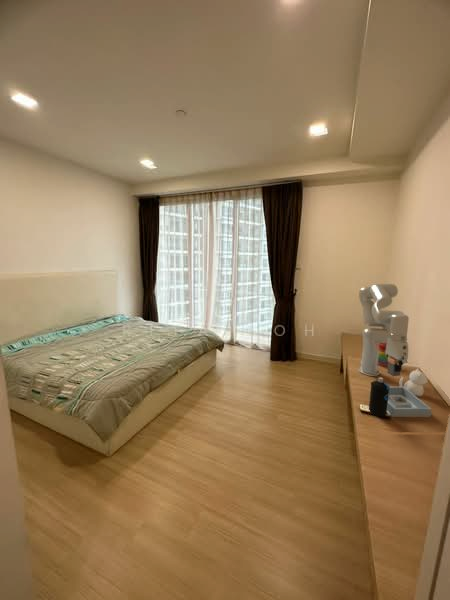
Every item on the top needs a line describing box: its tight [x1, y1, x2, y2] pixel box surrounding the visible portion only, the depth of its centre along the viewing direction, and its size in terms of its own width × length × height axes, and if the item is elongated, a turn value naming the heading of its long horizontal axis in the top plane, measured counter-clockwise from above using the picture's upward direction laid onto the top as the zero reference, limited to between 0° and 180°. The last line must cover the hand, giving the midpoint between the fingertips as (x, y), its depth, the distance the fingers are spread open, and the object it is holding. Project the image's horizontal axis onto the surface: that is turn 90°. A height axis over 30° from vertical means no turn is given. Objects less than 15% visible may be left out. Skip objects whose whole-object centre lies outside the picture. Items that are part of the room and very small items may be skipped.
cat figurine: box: [398, 368, 428, 397], centre depth 137 cm, size 9×12×15 cm
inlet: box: [388, 395, 412, 408], centre depth 128 cm, size 8×8×3 cm
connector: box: [386, 357, 401, 377], centre depth 127 cm, size 4×4×9 cm
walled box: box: [387, 386, 432, 418], centre depth 128 cm, size 20×18×5 cm
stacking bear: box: [377, 343, 388, 368], centre depth 173 cm, size 11×10×18 cm
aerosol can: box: [368, 376, 391, 418], centre depth 121 cm, size 8×8×20 cm
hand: (394, 369), depth 127 cm, fingers closed on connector, 3 cm apart
